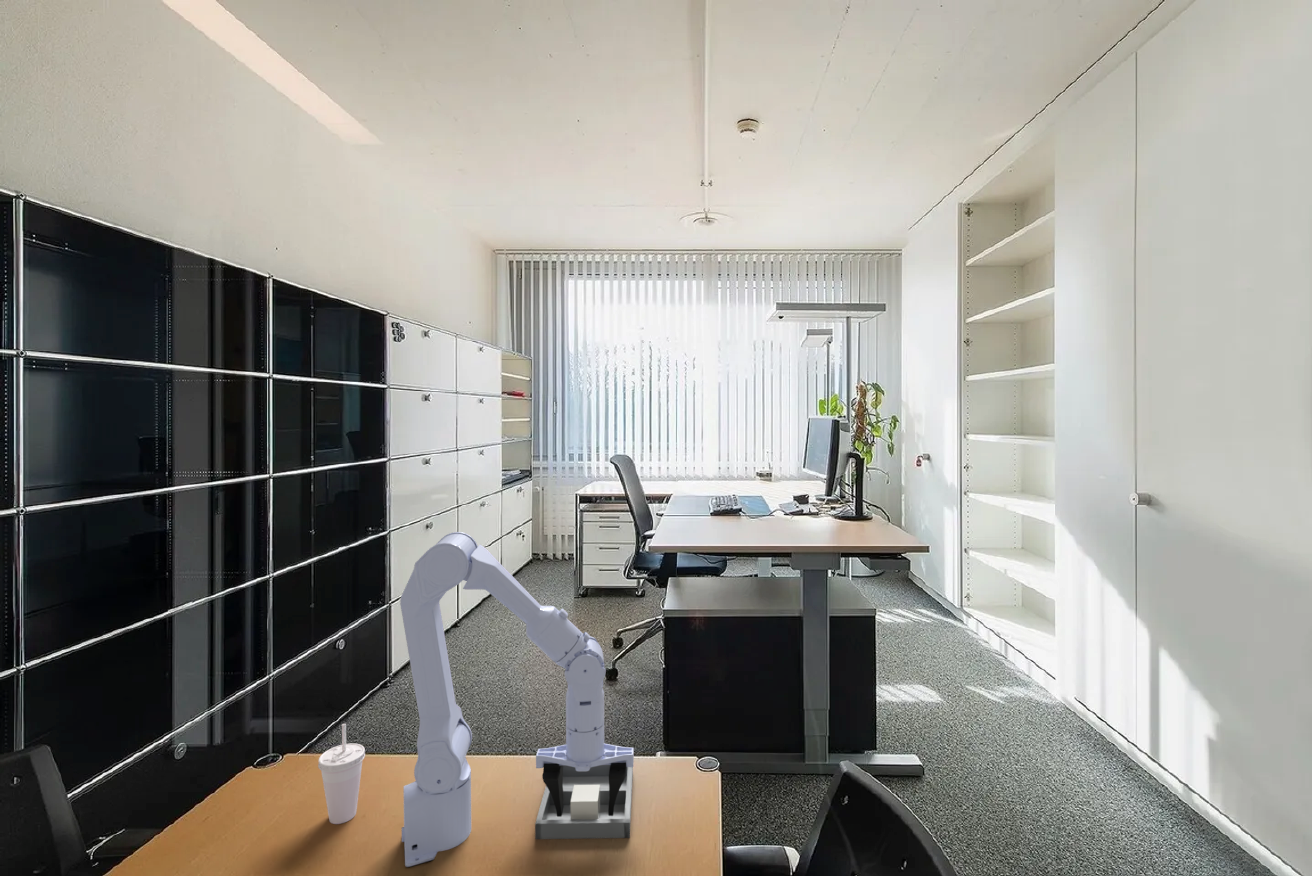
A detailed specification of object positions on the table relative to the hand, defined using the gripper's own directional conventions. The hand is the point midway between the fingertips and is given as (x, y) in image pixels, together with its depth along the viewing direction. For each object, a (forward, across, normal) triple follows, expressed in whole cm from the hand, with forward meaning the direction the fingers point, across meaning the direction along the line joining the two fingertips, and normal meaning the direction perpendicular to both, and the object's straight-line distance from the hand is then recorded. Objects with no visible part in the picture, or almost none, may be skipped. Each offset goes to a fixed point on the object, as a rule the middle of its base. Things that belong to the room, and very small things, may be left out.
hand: (585, 812), depth 88 cm
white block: (+1, 0, 0) cm, 1 cm away
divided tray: (+2, 0, +4) cm, 4 cm away
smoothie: (+2, -38, +3) cm, 38 cm away
